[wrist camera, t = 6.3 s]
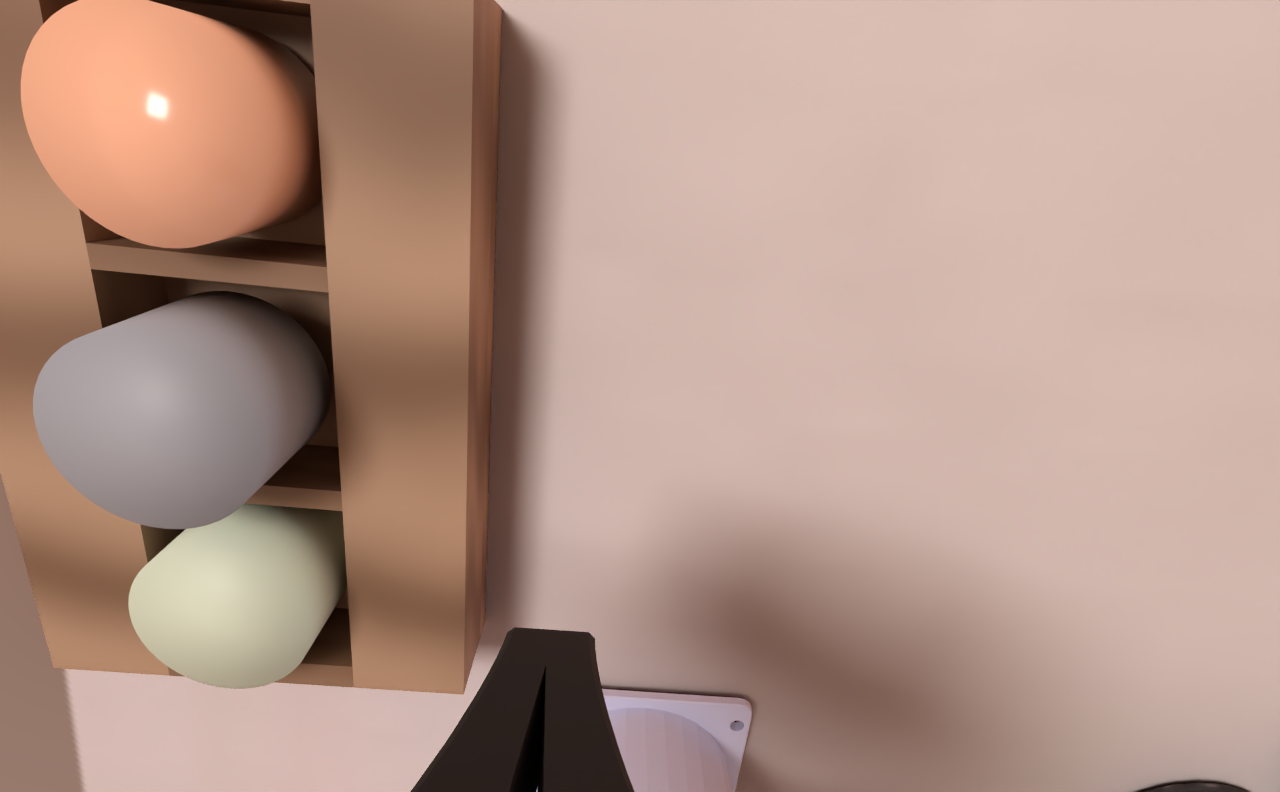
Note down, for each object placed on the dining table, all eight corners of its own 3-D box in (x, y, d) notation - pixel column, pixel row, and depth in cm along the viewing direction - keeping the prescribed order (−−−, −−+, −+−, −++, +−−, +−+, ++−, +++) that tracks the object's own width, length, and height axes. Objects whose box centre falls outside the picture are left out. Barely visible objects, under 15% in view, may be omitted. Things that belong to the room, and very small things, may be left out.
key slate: (335, 464, 18) (272, 537, 15) (161, 450, 18) (58, 520, 15) (324, 300, 17) (251, 341, 13) (132, 281, 16) (8, 318, 13)
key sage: (363, 609, 22) (316, 694, 18) (217, 599, 21) (143, 682, 18) (356, 485, 20) (304, 554, 17) (198, 472, 20) (113, 539, 16)
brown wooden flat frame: (484, 620, 23) (463, 694, 20) (130, 595, 23) (53, 668, 20) (502, 7, 17) (473, -21, 13) (-6, -56, 16) (-157, -101, 13)
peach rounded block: (342, 235, 17) (277, 259, 14) (159, 216, 17) (48, 236, 14) (332, 36, 16) (255, 11, 12) (128, 12, 15) (-6, -21, 12)
